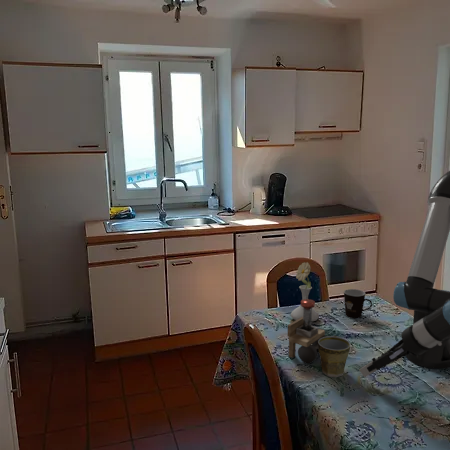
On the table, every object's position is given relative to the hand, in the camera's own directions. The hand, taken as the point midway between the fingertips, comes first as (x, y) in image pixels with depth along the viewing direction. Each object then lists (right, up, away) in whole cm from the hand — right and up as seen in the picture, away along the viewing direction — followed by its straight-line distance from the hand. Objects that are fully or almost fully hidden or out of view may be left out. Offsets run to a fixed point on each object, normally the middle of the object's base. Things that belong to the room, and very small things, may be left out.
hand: (362, 372), depth 140 cm
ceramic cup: (-7, -2, +8) cm, 11 cm away
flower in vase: (-9, +6, +47) cm, 48 cm away
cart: (-13, 0, +17) cm, 22 cm away
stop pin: (-14, +8, +17) cm, 23 cm away
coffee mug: (+12, +7, +50) cm, 52 cm away
